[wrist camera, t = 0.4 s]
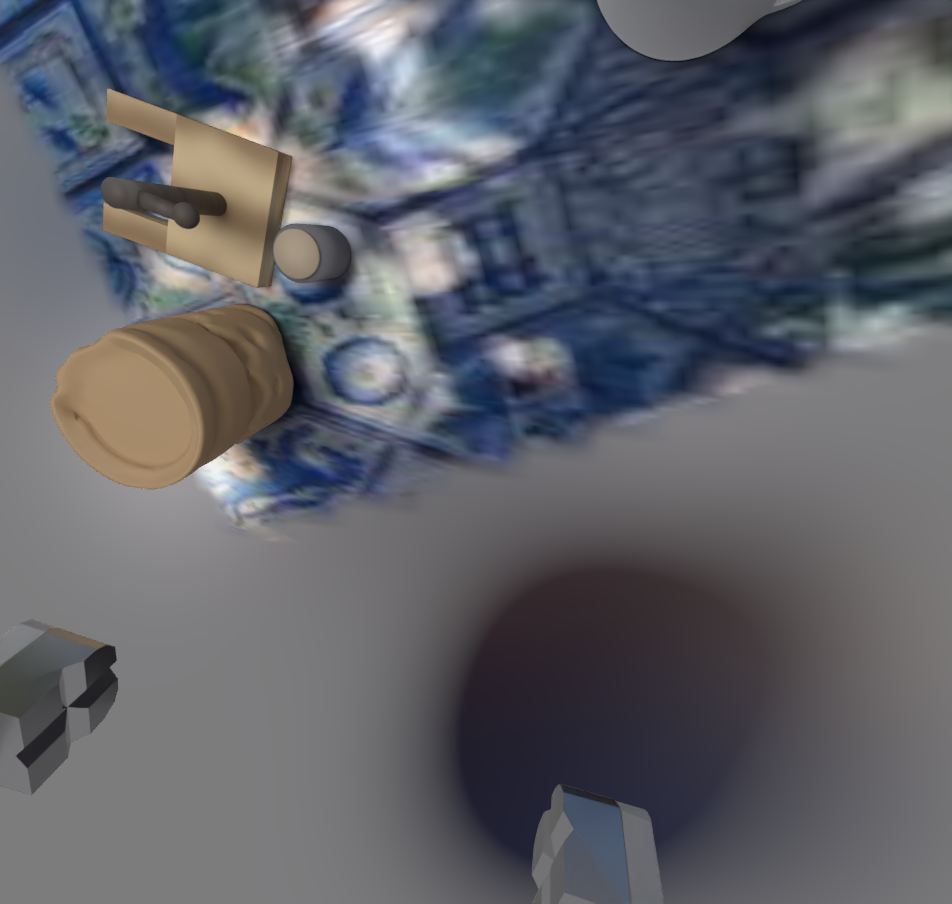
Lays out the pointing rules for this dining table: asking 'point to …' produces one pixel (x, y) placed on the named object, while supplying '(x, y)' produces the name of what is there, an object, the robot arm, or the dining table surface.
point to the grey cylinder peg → (311, 252)
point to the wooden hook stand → (201, 195)
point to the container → (172, 393)
